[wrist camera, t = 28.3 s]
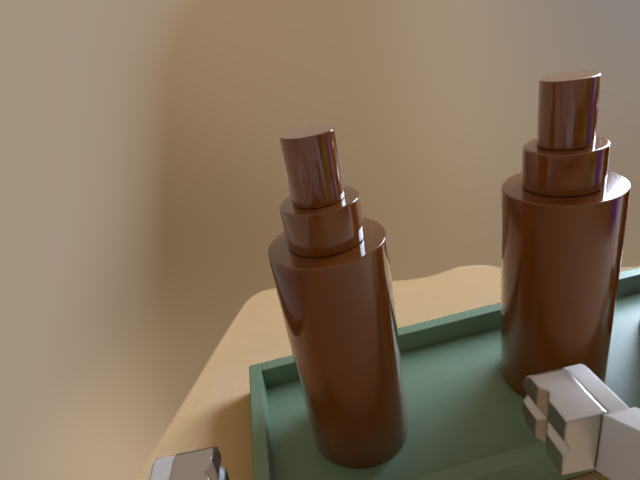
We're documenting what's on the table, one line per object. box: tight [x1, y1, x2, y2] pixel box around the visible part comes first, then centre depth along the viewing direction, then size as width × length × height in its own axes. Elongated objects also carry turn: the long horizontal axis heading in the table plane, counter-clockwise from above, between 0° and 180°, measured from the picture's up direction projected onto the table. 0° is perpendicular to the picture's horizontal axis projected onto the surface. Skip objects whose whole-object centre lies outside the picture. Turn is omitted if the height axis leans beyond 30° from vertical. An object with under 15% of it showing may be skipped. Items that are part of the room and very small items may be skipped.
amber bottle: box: [268, 124, 409, 469], centre depth 22 cm, size 6×6×17 cm
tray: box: [249, 267, 640, 480], centre depth 26 cm, size 32×12×2 cm, turn 100°
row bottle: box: [501, 71, 631, 398], centre depth 23 cm, size 6×6×17 cm
